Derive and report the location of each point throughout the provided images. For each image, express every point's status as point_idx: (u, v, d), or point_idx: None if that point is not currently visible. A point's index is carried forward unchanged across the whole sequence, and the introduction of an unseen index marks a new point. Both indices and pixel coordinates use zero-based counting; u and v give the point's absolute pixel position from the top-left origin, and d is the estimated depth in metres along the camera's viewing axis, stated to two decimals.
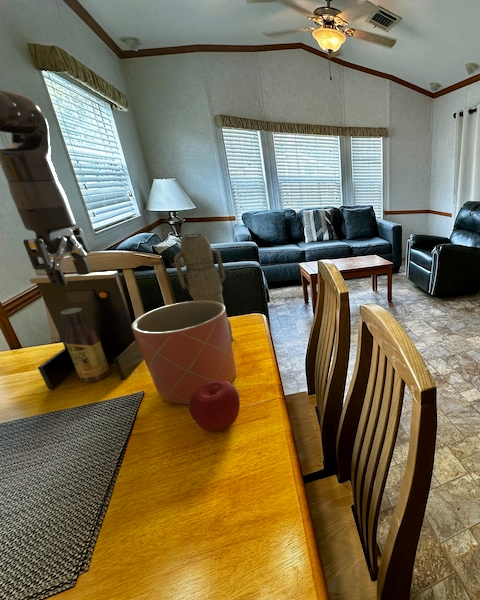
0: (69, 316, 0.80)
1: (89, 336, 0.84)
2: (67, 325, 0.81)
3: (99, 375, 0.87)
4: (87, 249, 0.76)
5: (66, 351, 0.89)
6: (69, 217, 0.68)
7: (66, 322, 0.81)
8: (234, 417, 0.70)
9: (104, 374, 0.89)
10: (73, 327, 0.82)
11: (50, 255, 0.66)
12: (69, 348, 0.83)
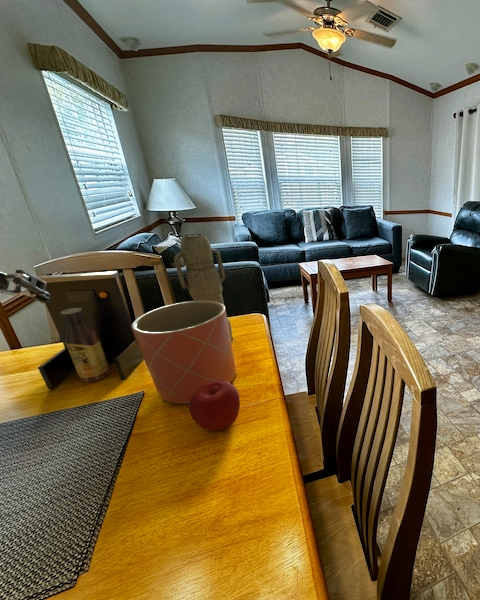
0: (69, 316, 0.80)
1: (89, 336, 0.84)
2: (67, 325, 0.81)
3: (99, 375, 0.87)
4: (36, 292, 0.65)
5: (66, 351, 0.89)
6: None
7: (66, 322, 0.81)
8: (234, 417, 0.70)
9: (104, 374, 0.89)
10: (73, 327, 0.82)
11: None
12: (69, 348, 0.83)
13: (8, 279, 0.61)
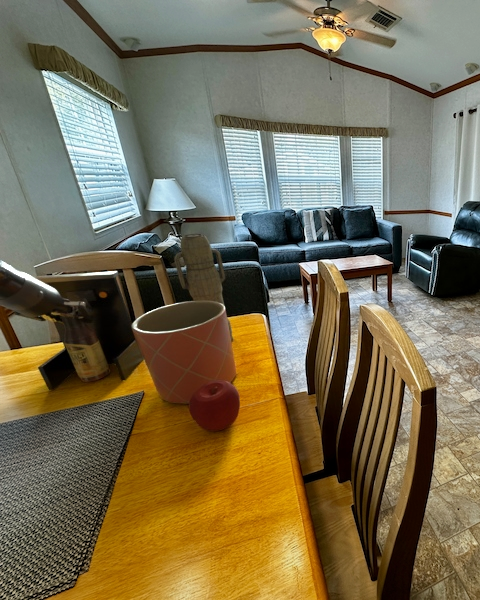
0: None
1: (88, 335, 0.84)
2: (65, 325, 0.81)
3: (99, 375, 0.87)
4: (85, 315, 0.81)
5: (66, 351, 0.89)
6: (27, 314, 0.71)
7: (64, 322, 0.81)
8: (234, 417, 0.70)
9: (104, 374, 0.88)
10: (71, 327, 0.82)
11: None
12: (68, 348, 0.82)
13: (72, 305, 0.77)
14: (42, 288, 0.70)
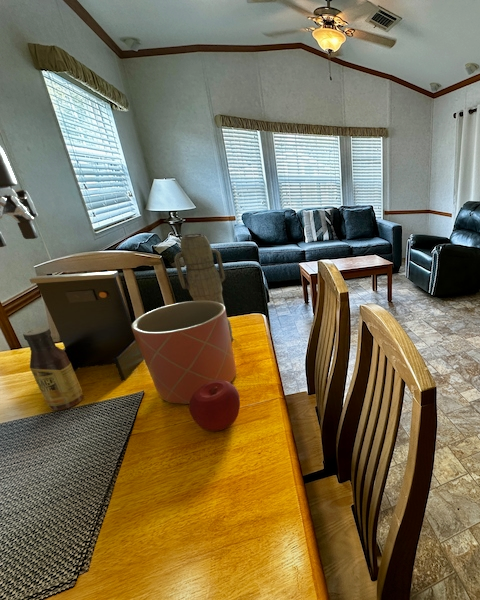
0: (33, 337, 0.70)
1: (57, 359, 0.74)
2: (31, 347, 0.71)
3: (70, 402, 0.77)
4: (34, 213, 0.74)
5: (66, 351, 0.89)
6: (7, 175, 0.66)
7: (30, 344, 0.71)
8: (234, 417, 0.70)
9: (76, 401, 0.78)
10: (37, 350, 0.72)
11: None
12: (34, 373, 0.72)
13: (16, 193, 0.71)
14: None
